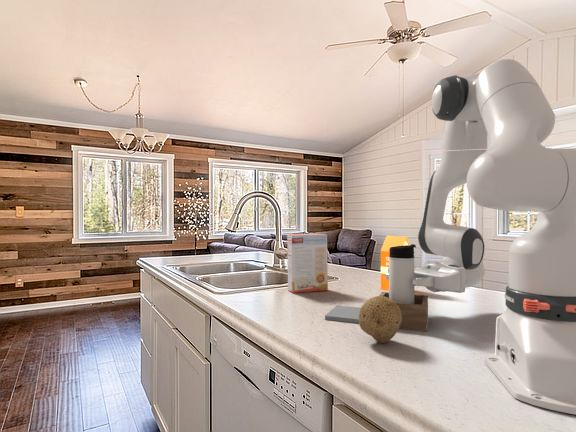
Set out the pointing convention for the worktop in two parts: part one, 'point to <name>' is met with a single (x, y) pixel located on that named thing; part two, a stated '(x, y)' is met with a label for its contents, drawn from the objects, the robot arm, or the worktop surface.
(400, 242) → the orange juice
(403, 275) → the travel mug
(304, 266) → the cracker box
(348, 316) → the mat
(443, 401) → the worktop surface
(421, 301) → the wooden box
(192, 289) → the worktop surface
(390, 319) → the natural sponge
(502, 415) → the worktop surface
